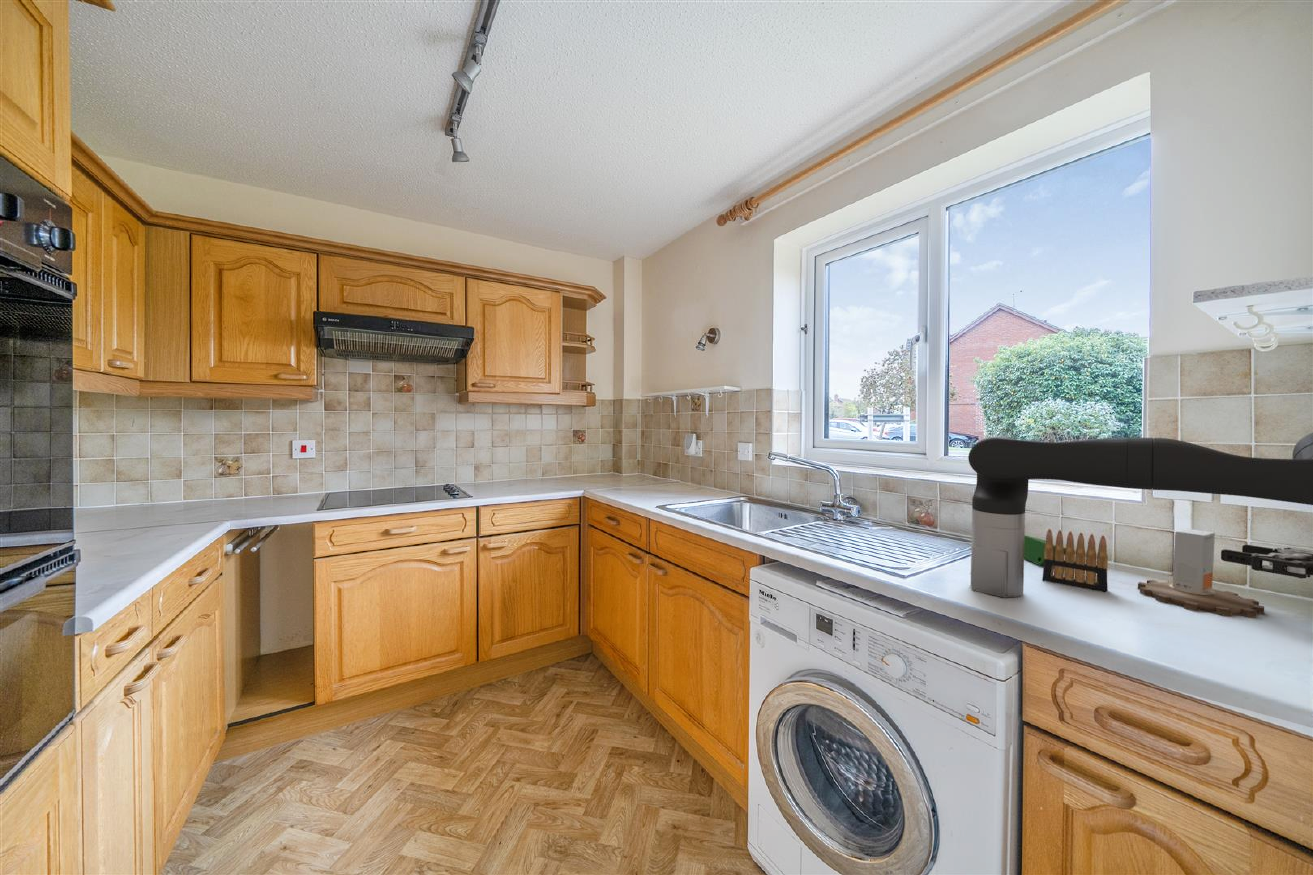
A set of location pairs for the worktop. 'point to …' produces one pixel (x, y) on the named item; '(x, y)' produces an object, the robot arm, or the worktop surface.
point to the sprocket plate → (1202, 599)
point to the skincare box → (1193, 560)
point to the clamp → (1035, 550)
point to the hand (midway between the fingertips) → (1232, 552)
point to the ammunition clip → (1076, 562)
